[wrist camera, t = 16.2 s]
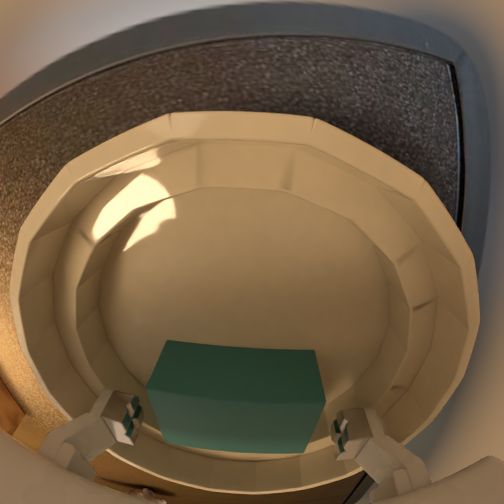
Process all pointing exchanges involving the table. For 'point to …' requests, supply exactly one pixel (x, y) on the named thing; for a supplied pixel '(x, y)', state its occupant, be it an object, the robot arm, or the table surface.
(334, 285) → the bowl
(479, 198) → the table surface
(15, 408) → the holder
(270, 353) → the teal rectangular block
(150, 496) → the seashell
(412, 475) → the robot arm
